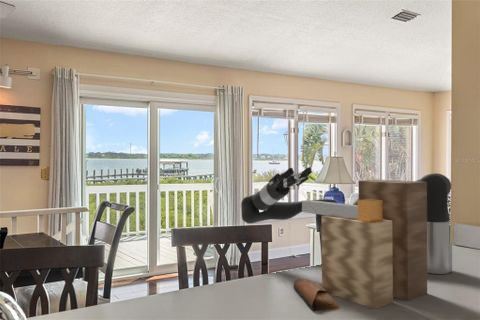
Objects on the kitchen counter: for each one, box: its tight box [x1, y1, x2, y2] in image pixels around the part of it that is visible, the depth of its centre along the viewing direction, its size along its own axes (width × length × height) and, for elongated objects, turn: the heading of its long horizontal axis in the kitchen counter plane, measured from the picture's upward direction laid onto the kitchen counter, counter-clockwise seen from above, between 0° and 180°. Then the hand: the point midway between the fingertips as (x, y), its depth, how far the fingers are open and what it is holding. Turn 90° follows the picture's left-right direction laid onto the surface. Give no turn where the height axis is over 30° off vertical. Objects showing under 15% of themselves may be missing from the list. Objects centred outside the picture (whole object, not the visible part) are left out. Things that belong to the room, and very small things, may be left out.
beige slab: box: [321, 215, 394, 309], centre depth 117 cm, size 18×8×22 cm, turn 37°
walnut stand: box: [358, 179, 428, 302], centre depth 122 cm, size 16×10×32 cm, turn 37°
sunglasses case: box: [292, 278, 342, 312], centre depth 115 cm, size 18×7×7 cm
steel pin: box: [301, 199, 383, 222], centre depth 122 cm, size 26×6×6 cm, turn 37°
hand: (301, 169), depth 141 cm, fingers open, 8 cm apart
